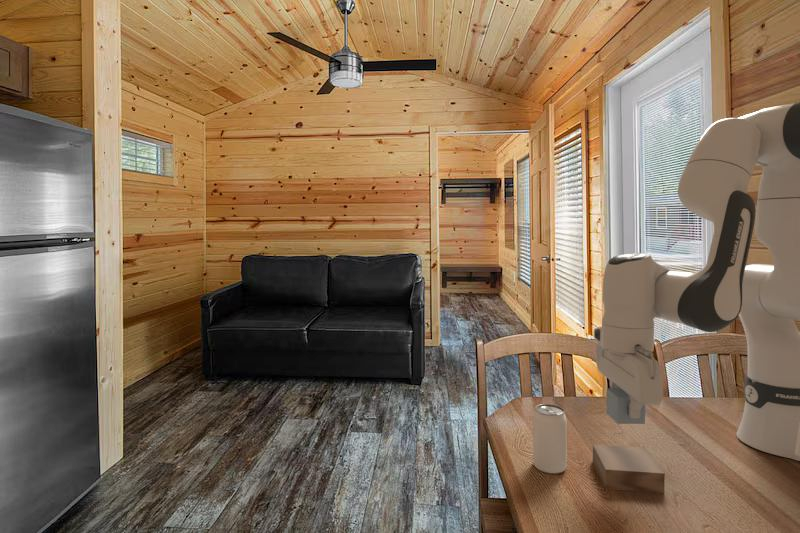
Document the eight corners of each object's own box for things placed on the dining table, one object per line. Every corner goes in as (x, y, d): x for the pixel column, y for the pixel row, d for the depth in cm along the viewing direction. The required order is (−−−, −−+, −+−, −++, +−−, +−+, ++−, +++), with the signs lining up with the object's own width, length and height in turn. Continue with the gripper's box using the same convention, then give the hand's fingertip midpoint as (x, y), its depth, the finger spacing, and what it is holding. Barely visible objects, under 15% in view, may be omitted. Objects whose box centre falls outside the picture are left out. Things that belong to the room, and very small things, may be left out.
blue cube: (632, 413, 89) (632, 388, 88) (644, 423, 84) (645, 397, 83) (606, 413, 89) (606, 388, 89) (617, 423, 84) (617, 397, 84)
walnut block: (644, 466, 91) (645, 447, 91) (664, 494, 81) (664, 473, 81) (592, 463, 93) (592, 444, 93) (605, 490, 83) (605, 469, 83)
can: (556, 456, 95) (556, 401, 94) (573, 472, 89) (573, 414, 88) (527, 460, 94) (527, 404, 93) (542, 476, 88) (542, 417, 87)
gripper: (674, 353, 75) (672, 434, 76) (620, 327, 95) (619, 391, 96) (636, 353, 75) (634, 434, 76) (590, 327, 95) (589, 391, 96)
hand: (625, 410), depth 86 cm, fingers closed on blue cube, 5 cm apart
